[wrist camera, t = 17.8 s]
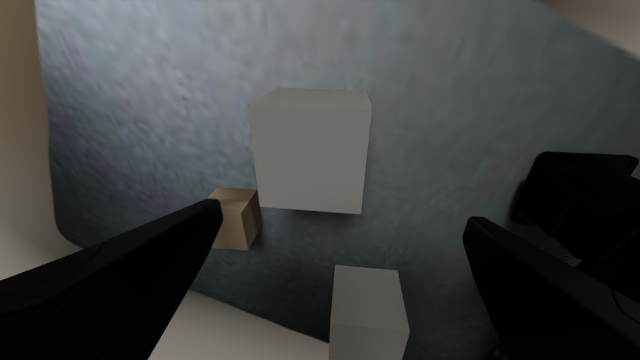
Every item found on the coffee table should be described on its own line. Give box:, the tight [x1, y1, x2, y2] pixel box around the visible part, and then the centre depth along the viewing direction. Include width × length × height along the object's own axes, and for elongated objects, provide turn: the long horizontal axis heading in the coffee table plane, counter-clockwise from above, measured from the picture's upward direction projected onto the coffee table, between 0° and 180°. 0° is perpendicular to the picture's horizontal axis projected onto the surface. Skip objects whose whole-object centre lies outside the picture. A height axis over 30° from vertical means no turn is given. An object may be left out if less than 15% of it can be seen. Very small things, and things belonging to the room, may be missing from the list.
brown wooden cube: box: [208, 188, 262, 251], centre depth 23 cm, size 4×4×4 cm
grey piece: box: [248, 88, 372, 214], centre depth 17 cm, size 7×7×6 cm
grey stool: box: [329, 265, 410, 360], centre depth 25 cm, size 7×7×6 cm
